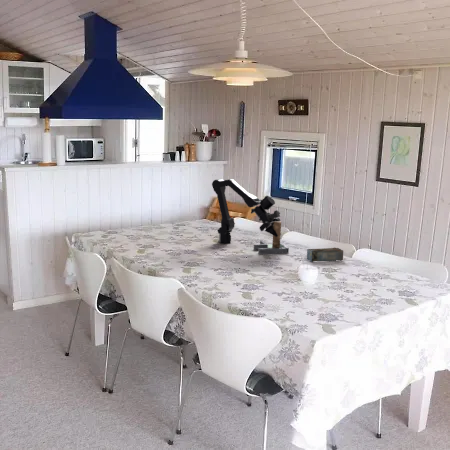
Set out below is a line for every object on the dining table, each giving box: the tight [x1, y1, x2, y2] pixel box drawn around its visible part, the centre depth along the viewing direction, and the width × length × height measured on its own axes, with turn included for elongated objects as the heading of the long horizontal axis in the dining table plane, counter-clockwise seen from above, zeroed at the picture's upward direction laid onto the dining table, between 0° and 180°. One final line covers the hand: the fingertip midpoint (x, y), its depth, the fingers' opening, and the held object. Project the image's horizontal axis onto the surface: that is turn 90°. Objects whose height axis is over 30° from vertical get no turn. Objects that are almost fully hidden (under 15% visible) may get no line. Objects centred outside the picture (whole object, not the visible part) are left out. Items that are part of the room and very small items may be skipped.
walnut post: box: [271, 221, 282, 248], centre depth 317 cm, size 4×4×16 cm
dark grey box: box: [306, 247, 344, 263], centre depth 301 cm, size 8×19×7 cm, turn 102°
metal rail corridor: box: [253, 239, 290, 255], centre depth 321 cm, size 18×21×3 cm
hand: (278, 235), depth 316 cm, fingers closed on walnut post, 4 cm apart
